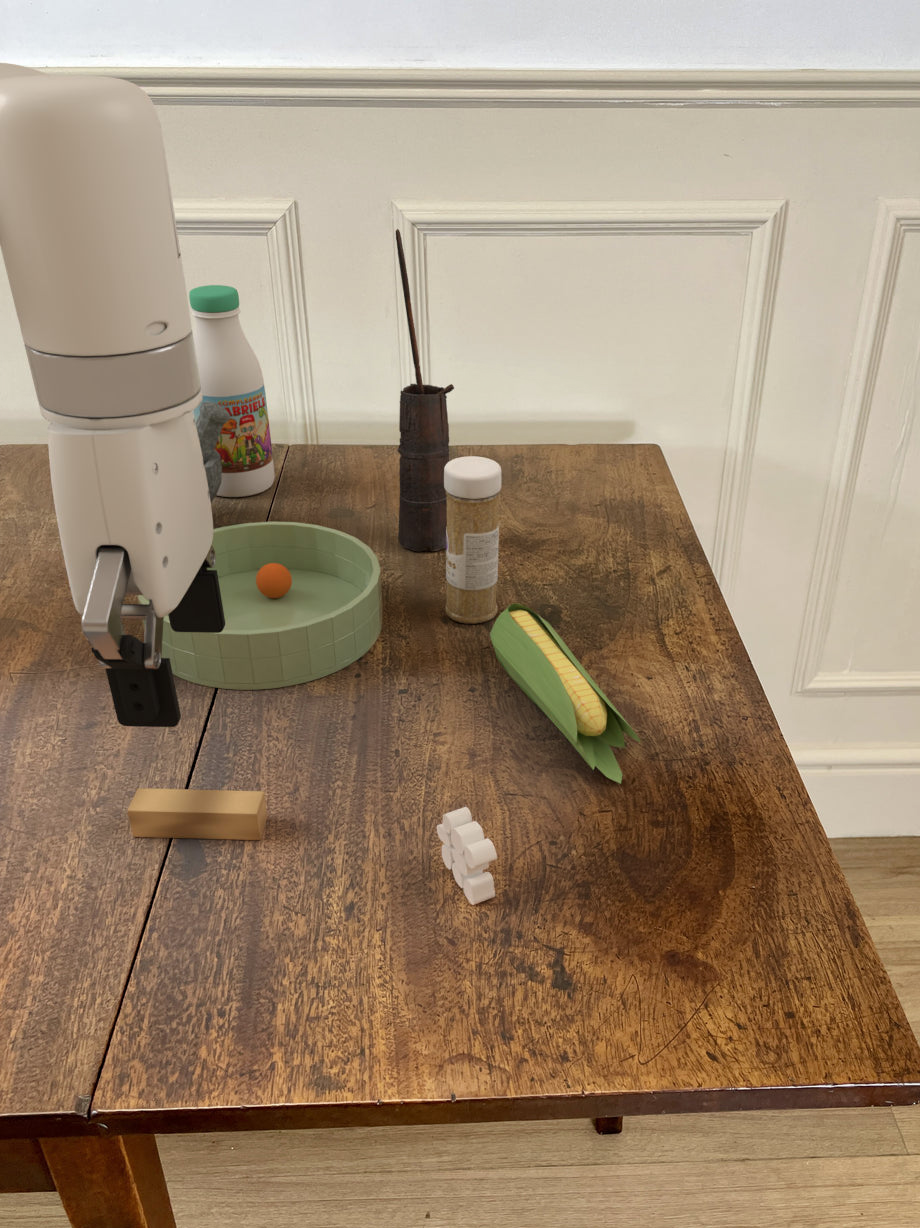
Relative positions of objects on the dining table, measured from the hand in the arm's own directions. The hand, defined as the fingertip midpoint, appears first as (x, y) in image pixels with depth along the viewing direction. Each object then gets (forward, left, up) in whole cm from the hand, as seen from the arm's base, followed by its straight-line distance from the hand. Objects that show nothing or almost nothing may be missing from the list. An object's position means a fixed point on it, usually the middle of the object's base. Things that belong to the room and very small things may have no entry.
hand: (176, 673), depth 59 cm
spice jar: (+16, +28, -12) cm, 34 cm away
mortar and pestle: (-13, +44, -12) cm, 48 cm away
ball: (-1, +29, -10) cm, 31 cm away
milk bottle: (-10, +54, -12) cm, 56 cm away
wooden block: (0, 0, -12) cm, 12 cm away
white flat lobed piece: (+17, -4, -12) cm, 21 cm away
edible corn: (+23, +14, -12) cm, 29 cm away
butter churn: (+12, +42, -12) cm, 45 cm away
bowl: (-1, +25, -12) cm, 28 cm away
